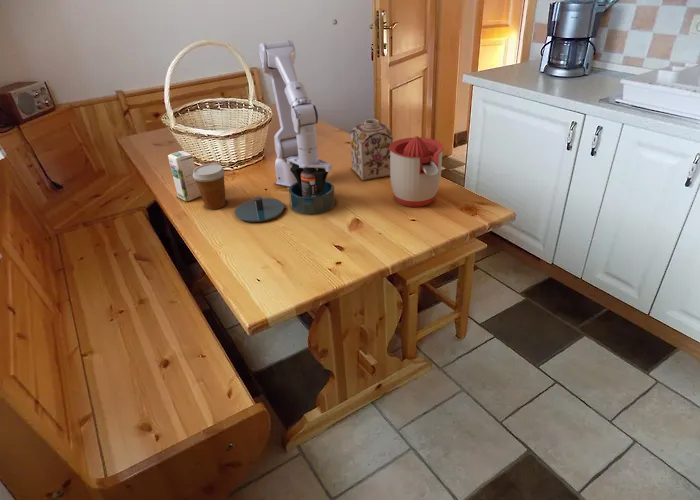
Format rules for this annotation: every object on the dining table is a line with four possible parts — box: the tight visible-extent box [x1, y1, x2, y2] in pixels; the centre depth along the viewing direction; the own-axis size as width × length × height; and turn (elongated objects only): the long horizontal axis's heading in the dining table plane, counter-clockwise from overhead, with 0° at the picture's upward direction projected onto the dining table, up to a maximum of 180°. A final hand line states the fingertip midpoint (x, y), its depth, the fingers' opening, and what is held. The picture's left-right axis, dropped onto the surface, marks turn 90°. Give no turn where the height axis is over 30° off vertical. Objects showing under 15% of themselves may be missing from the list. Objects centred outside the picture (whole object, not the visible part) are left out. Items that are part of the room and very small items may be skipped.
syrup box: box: [167, 150, 202, 202], centre depth 150 cm, size 6×6×14 cm
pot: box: [288, 179, 336, 215], centre depth 145 cm, size 14×19×5 cm
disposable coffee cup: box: [192, 163, 227, 210], centre depth 145 cm, size 10×10×12 cm
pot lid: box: [234, 195, 285, 223], centre depth 142 cm, size 15×15×5 cm
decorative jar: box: [349, 118, 394, 181], centre depth 160 cm, size 12×12×18 cm
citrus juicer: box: [389, 135, 445, 208], centre depth 140 cm, size 16×17×20 cm
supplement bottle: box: [301, 168, 322, 197], centre depth 142 cm, size 6×6×11 cm
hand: (311, 189), depth 143 cm, fingers closed on supplement bottle, 6 cm apart
